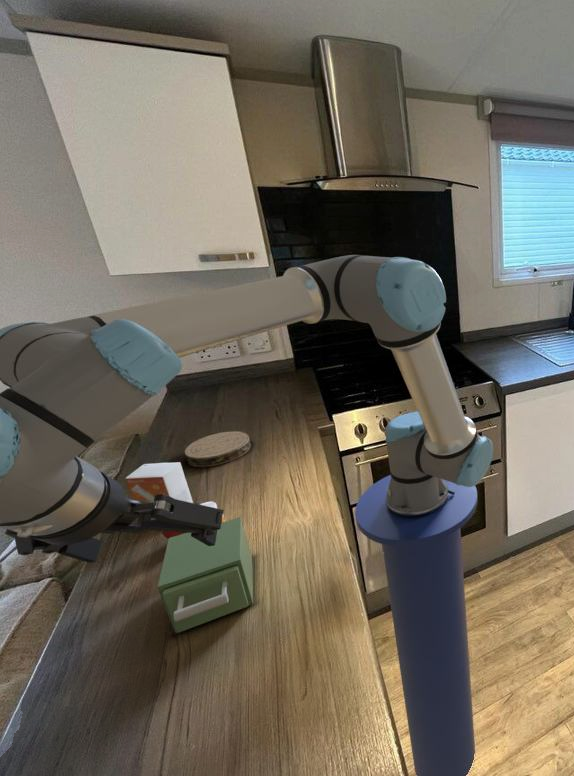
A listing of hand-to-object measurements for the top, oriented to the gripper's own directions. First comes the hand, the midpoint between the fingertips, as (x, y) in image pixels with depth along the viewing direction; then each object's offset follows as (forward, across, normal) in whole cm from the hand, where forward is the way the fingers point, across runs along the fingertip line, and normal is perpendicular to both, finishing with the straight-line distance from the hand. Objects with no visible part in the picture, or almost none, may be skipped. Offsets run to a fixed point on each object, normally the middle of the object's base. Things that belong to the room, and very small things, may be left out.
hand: (156, 543), depth 62 cm
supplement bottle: (+40, -6, +9) cm, 41 cm away
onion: (+42, -13, +11) cm, 46 cm away
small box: (+49, -20, +20) cm, 57 cm away
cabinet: (+30, -1, -3) cm, 30 cm away
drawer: (+27, 0, -5) cm, 27 cm away
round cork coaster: (+68, -18, +43) cm, 83 cm away
